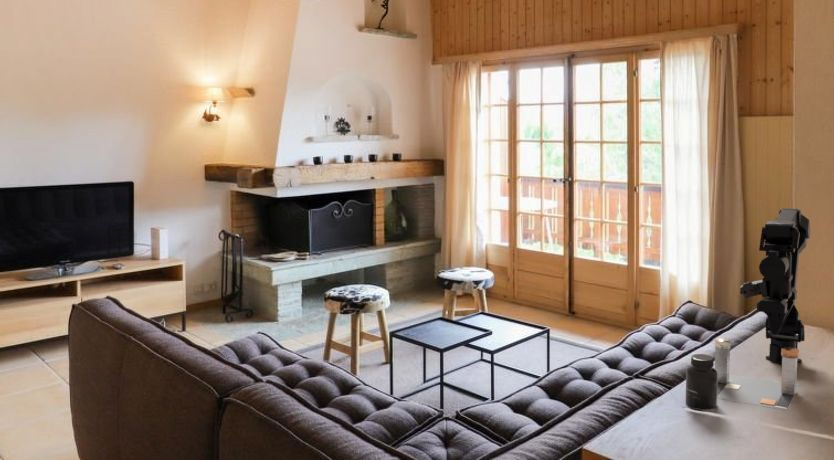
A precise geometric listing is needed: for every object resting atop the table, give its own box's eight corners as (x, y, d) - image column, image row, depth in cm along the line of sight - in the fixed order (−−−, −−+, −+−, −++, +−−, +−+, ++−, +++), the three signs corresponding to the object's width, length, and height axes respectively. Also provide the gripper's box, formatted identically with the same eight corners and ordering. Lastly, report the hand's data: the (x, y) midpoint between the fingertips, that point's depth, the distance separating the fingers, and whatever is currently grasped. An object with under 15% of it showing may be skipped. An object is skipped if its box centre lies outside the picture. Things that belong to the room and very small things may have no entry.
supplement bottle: (683, 409, 163) (684, 359, 161) (687, 399, 169) (688, 350, 167) (715, 414, 160) (716, 363, 158) (718, 403, 166) (719, 354, 164)
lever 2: (781, 388, 171) (783, 346, 169) (798, 391, 169) (799, 348, 167) (778, 393, 168) (780, 350, 166) (795, 396, 166) (797, 352, 164)
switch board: (722, 375, 184) (722, 372, 183) (800, 387, 173) (800, 384, 173) (703, 397, 169) (703, 394, 169) (787, 413, 159) (787, 409, 159)
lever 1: (716, 377, 180) (717, 337, 178) (731, 380, 177) (732, 339, 176) (712, 382, 177) (713, 341, 175) (727, 384, 175) (728, 343, 173)
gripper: (751, 262, 188) (749, 319, 191) (735, 276, 174) (733, 337, 176) (798, 266, 182) (796, 324, 184) (785, 280, 167) (783, 344, 169)
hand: (776, 332), depth 178 cm, fingers open, 4 cm apart
